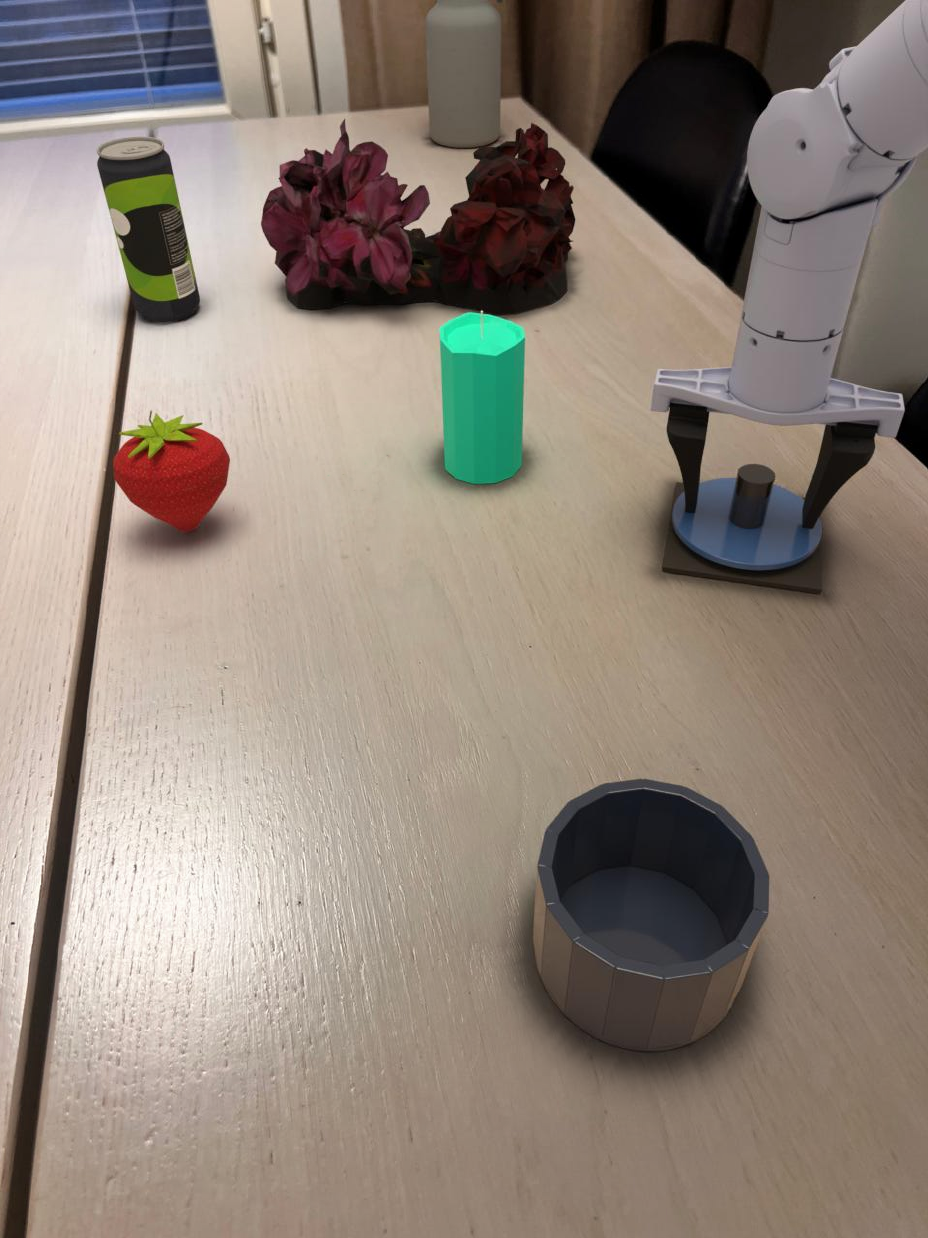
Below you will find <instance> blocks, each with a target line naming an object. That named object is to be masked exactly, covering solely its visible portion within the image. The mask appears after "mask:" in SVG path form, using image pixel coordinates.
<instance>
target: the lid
mask: <svg viewBox="0 0 928 1238" xmlns="http://www.w3.org/2000/svg"><path fill="white" fill-rule="evenodd" d="M776 478H777V477H776V473H775V471H774V470H773V469H772V468H771V467H769V466H766V465H763V464H760V463H747V464H743V465H742V466H740V467H739V468H738V470H737V473H736V477H720V478H714V479H709V480H705V481H700V484H699V491H698V499H697V506H696V511H695V514H693V513H686V512H685V492H683V493H682V494H681V495H680V496H679V497H678V499H677V500H676V502H675V504H674V507H673V511H672V510H671V512H672V524H673V527H674V530H675V532H676V534H677V535H678V537H679V538H680V539H681V540H682V542H683V543H684V544H685V545H686V546H688V547H689V548H690V549H691V550H693V551H694V552H696V553H697V554H699V555H701V556H702V557H704V558H706V559H709V560H711V561H713V562H716V563H719V564H722V565H725V566H729V567H733V568H739V569H746V570H774V569H781V568H785V567H789V566H792V565H795V564H797V563H799V562H801V561H803V560H805V559H806V558H807V557H809V556H810V555H811V554H812V553H813V552H814V551H815V550H816V548H817V546H818V545H819V542H820V543H821V537H822V535H823V526H822V525H823V524H822V521H821V518H820V519H819V518H818V520H817V522H816V524H815V526H814V528H813V529H808V528H802V509H803V505H804V499H802V498H803V497H801V496H800V495H798V494H796V493H795V492H793V491H791V490H790V489H787V488H785V487H782V486H780V485H778V484H775V481H776Z"/></svg>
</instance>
